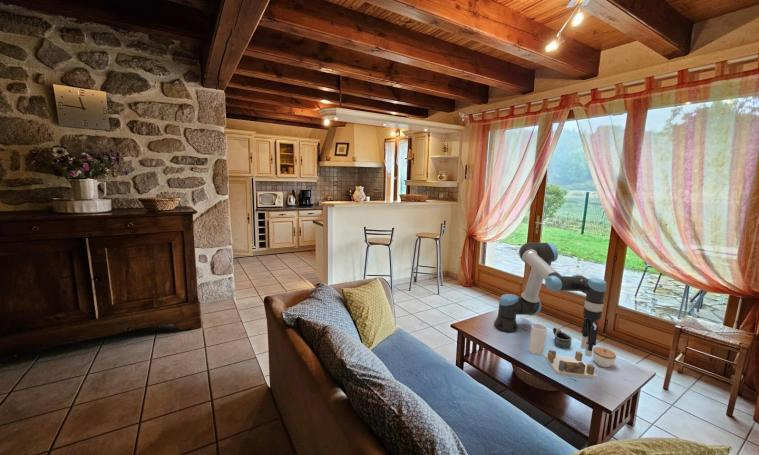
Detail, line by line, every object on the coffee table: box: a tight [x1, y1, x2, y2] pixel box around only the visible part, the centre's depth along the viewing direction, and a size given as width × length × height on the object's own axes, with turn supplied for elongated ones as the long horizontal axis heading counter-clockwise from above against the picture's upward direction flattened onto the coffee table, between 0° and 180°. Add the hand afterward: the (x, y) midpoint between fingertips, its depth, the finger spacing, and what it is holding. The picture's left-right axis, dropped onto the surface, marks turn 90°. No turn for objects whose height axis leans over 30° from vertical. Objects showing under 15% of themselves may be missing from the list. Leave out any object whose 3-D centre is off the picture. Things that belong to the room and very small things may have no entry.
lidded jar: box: [592, 346, 617, 368], centre depth 183 cm, size 11×11×9 cm
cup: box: [528, 322, 548, 356], centre depth 193 cm, size 8×8×16 cm
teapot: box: [552, 326, 573, 349], centre depth 203 cm, size 10×12×10 cm
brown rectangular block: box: [564, 362, 586, 374], centre depth 172 cm, size 9×3×5 cm, turn 83°
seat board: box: [544, 349, 598, 380], centre depth 179 cm, size 17×20×6 cm
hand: (585, 352), depth 163 cm, fingers open, 6 cm apart
